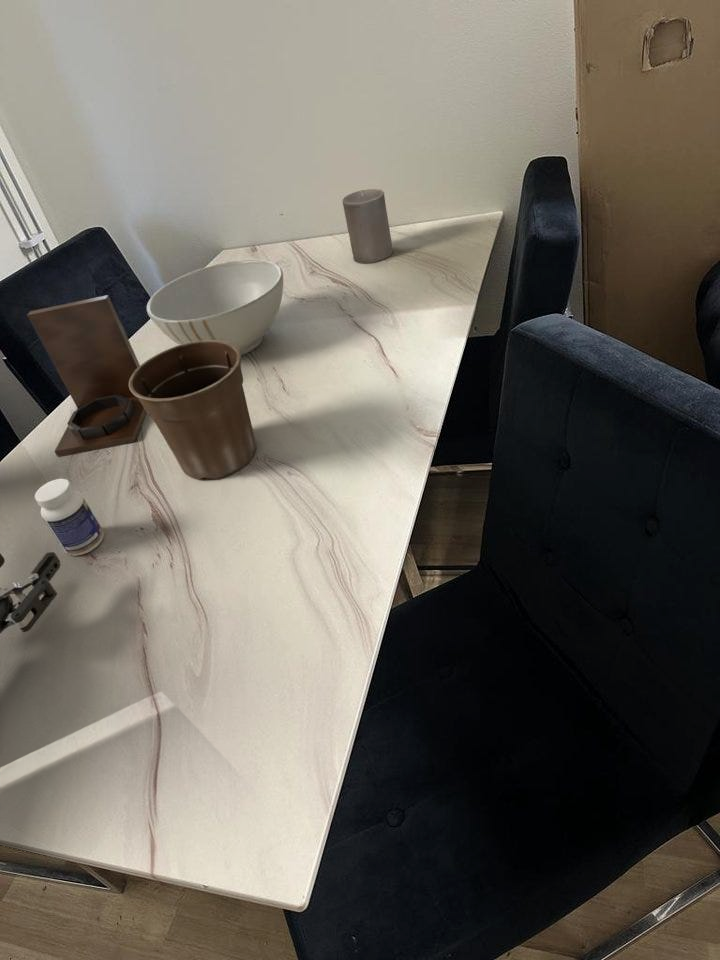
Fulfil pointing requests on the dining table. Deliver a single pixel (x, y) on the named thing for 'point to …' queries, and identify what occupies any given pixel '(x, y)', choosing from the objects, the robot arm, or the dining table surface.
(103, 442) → the stand
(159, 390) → the plant pot
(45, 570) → the robot arm
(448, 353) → the dining table surface
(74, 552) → the pill bottle
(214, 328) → the decorative bowl
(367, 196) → the pillar candle
